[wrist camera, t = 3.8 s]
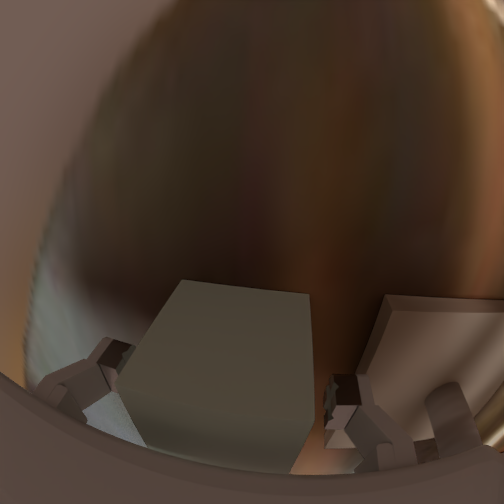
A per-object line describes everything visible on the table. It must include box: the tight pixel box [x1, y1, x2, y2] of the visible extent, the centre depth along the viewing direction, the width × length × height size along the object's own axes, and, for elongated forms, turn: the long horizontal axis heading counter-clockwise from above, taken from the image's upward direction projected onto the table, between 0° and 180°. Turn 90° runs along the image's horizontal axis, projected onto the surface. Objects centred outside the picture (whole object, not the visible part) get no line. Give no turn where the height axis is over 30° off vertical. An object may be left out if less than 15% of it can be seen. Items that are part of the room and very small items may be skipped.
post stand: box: [324, 294, 504, 459], centre depth 9 cm, size 12×12×7 cm
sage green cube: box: [114, 279, 315, 474], centre depth 10 cm, size 5×5×6 cm
